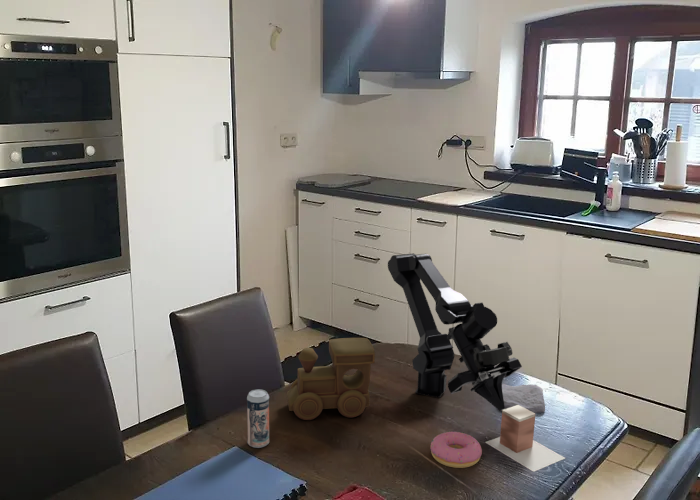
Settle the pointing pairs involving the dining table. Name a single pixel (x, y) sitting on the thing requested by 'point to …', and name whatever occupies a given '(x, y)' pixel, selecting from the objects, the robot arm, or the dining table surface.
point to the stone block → (524, 397)
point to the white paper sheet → (529, 455)
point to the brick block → (517, 428)
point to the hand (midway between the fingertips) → (502, 409)
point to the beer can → (258, 418)
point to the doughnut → (456, 449)
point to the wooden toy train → (333, 380)
